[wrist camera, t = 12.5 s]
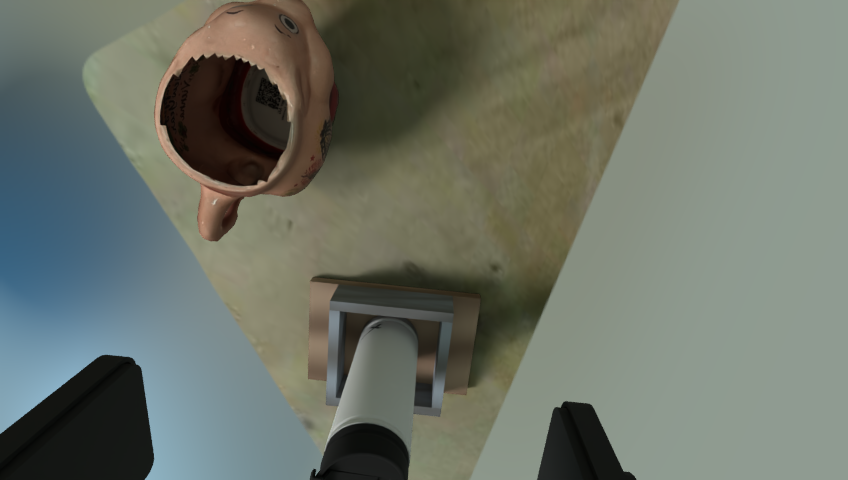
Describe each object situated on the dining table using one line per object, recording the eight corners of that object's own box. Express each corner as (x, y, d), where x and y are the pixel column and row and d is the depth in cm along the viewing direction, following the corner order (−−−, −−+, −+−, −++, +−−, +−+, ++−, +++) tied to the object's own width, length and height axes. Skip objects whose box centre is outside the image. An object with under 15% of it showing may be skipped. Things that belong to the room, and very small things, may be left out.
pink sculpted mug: (322, 234, 46) (275, 288, 33) (207, 197, 45) (110, 238, 32) (375, 33, 40) (344, 0, 27) (243, -13, 39) (144, -71, 26)
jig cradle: (313, 277, 47) (298, 297, 42) (479, 294, 47) (484, 316, 42) (311, 372, 51) (297, 402, 46) (465, 388, 51) (468, 419, 46)
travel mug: (363, 306, 47) (313, 449, 28) (424, 319, 47) (416, 469, 28) (353, 356, 49) (301, 522, 30) (412, 368, 49) (396, 540, 30)
